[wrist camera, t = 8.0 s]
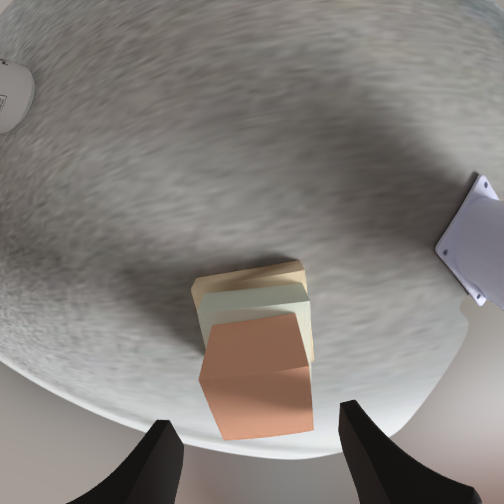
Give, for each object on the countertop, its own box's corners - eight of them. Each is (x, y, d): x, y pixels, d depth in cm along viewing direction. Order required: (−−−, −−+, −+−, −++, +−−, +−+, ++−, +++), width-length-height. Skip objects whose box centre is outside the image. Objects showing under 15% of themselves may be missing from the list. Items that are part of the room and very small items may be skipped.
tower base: (298, 257, 19) (304, 270, 17) (308, 341, 21) (314, 361, 19) (197, 274, 20) (190, 289, 17) (220, 355, 21) (217, 375, 19)
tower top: (302, 282, 17) (310, 300, 15) (305, 360, 19) (311, 383, 16) (203, 293, 17) (197, 312, 15) (219, 368, 19) (216, 392, 16)
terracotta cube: (295, 312, 15) (308, 365, 10) (302, 374, 16) (313, 430, 12) (212, 325, 15) (198, 379, 11) (229, 384, 16) (223, 440, 12)
